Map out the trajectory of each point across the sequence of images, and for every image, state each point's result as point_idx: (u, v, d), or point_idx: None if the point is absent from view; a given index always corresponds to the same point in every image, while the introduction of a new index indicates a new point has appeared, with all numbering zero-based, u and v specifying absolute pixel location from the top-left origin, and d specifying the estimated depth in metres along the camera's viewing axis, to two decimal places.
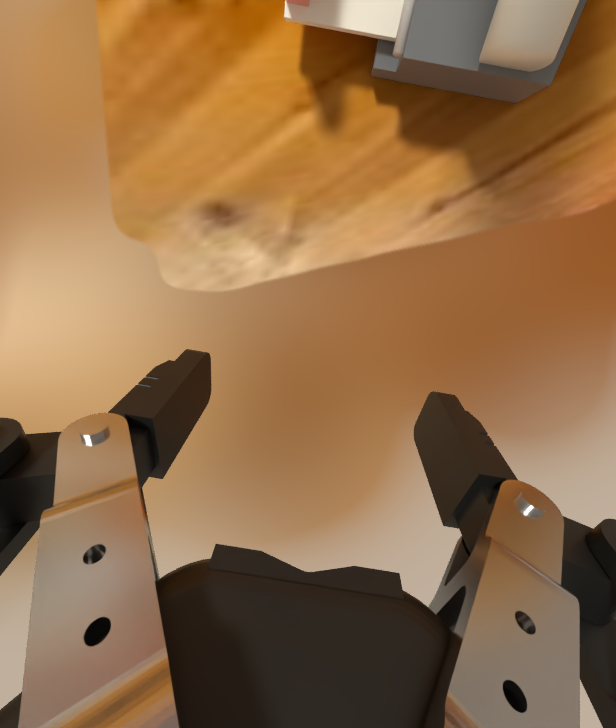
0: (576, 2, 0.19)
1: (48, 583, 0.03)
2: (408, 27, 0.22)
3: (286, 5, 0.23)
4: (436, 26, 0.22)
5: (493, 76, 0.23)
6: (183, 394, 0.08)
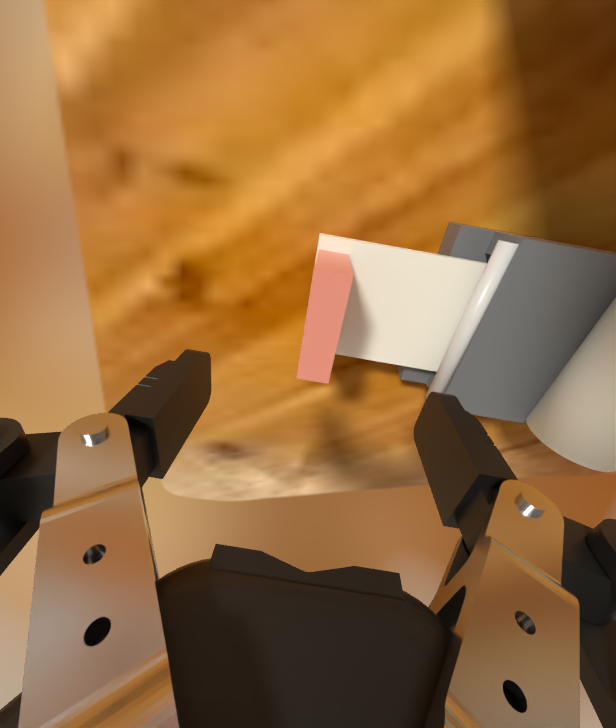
0: None
1: (48, 583, 0.03)
2: (445, 388, 0.19)
3: None
4: (478, 391, 0.19)
5: None
6: (184, 393, 0.08)
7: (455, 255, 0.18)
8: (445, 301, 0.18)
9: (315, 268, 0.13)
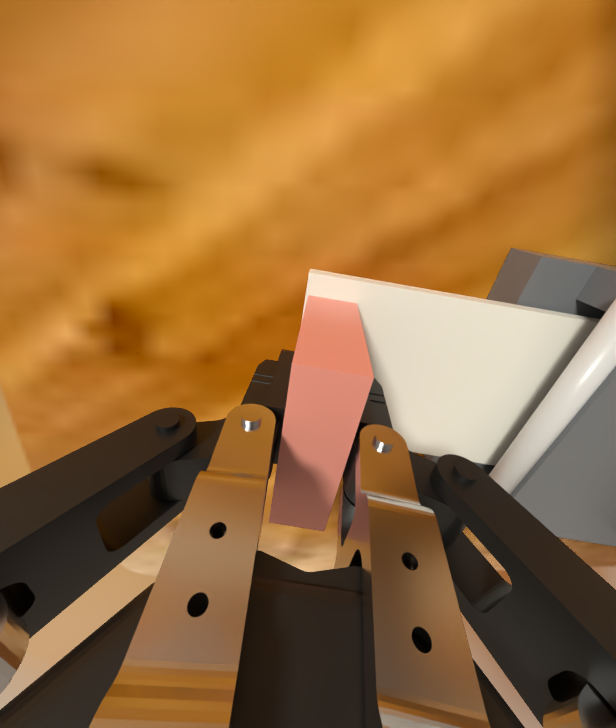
0: None
1: (183, 535, 0.04)
2: None
3: None
4: (557, 507, 0.12)
5: None
6: None
7: (526, 302, 0.11)
8: (508, 373, 0.12)
9: (295, 361, 0.06)
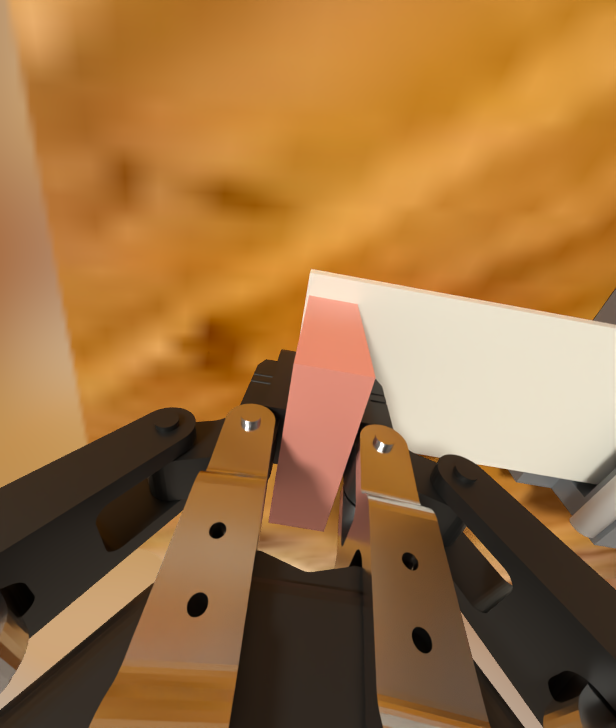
0: None
1: (182, 535, 0.04)
2: (615, 521, 0.13)
3: None
4: None
5: None
6: None
7: None
8: (507, 374, 0.12)
9: (297, 360, 0.06)
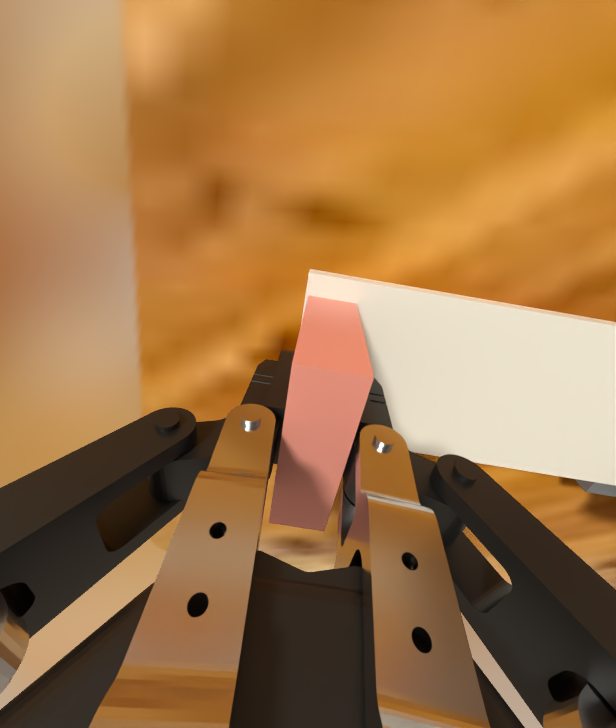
0: None
1: (183, 535, 0.04)
2: None
3: None
4: None
5: None
6: None
7: None
8: (507, 373, 0.12)
9: (295, 361, 0.06)
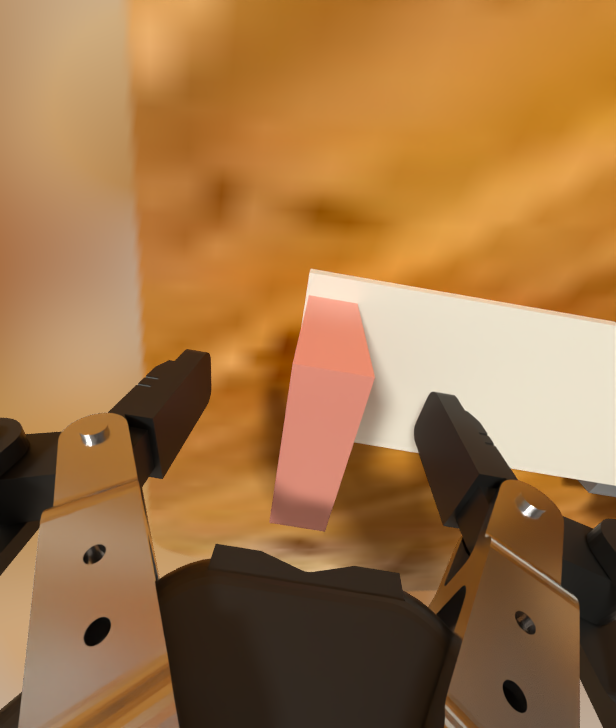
0: None
1: (48, 583, 0.03)
2: None
3: None
4: None
5: None
6: (184, 393, 0.08)
7: None
8: (509, 373, 0.12)
9: (296, 361, 0.06)
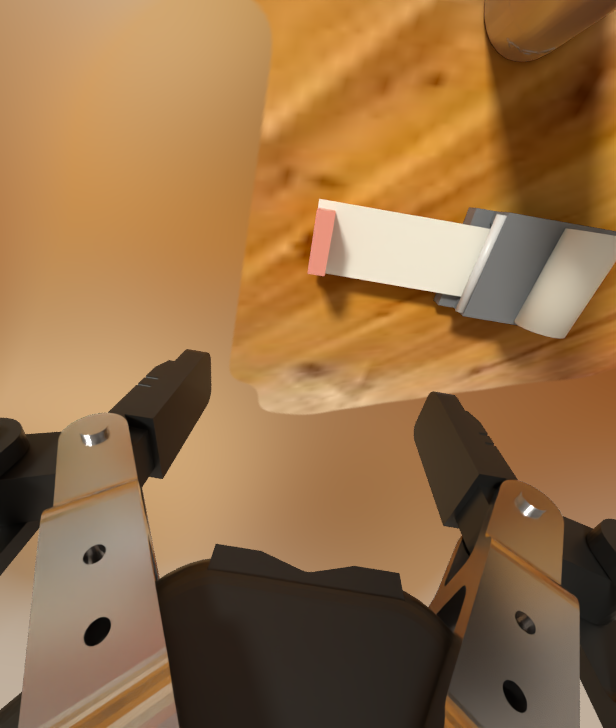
0: (578, 316, 0.30)
1: (48, 583, 0.03)
2: (467, 302, 0.33)
3: None
4: (486, 303, 0.33)
5: None
6: (183, 394, 0.08)
7: (473, 225, 0.32)
8: (389, 237, 0.32)
9: (317, 209, 0.27)
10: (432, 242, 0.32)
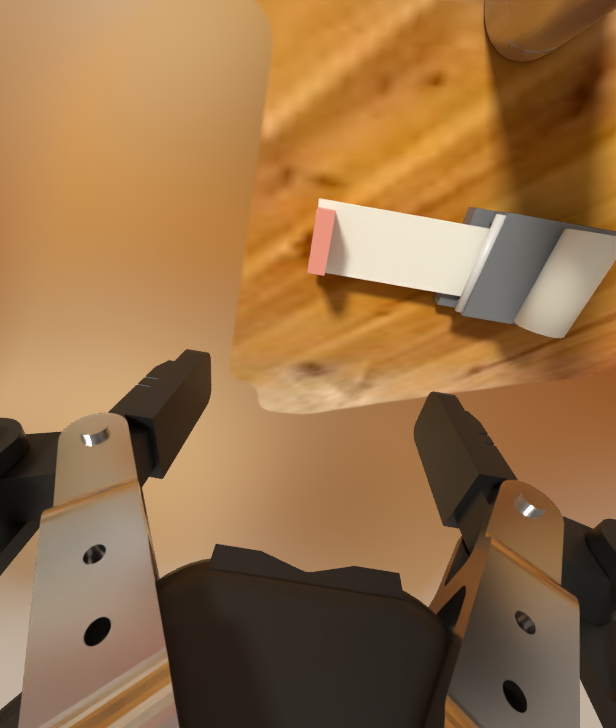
0: None
1: (48, 583, 0.03)
2: (467, 301, 0.33)
3: None
4: (486, 302, 0.33)
5: None
6: (184, 394, 0.08)
7: (472, 224, 0.32)
8: (389, 237, 0.32)
9: (317, 208, 0.27)
10: (432, 242, 0.32)
